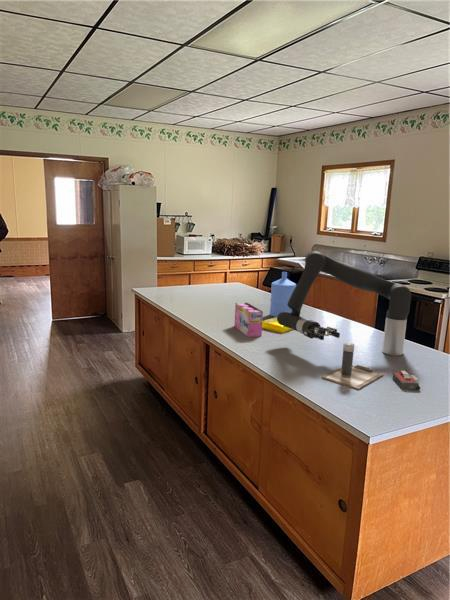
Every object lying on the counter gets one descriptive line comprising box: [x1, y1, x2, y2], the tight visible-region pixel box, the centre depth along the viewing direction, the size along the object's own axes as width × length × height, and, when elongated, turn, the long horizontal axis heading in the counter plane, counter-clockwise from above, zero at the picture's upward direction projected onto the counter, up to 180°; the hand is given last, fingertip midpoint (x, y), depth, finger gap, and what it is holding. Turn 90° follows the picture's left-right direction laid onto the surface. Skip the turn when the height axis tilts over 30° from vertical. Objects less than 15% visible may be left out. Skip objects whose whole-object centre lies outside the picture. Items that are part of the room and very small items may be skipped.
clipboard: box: [320, 364, 385, 391], centre depth 177 cm, size 22×16×2 cm
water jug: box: [269, 271, 297, 318], centre depth 275 cm, size 16×16×28 cm
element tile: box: [262, 317, 294, 334], centre depth 248 cm, size 15×15×5 cm
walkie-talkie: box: [392, 368, 421, 391], centre depth 175 cm, size 9×4×20 cm
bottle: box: [341, 342, 355, 378], centre depth 175 cm, size 4×4×14 cm
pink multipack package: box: [234, 302, 264, 338], centre depth 240 cm, size 24×8×14 cm, turn 19°
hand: (331, 336), depth 187 cm, fingers open, 8 cm apart
